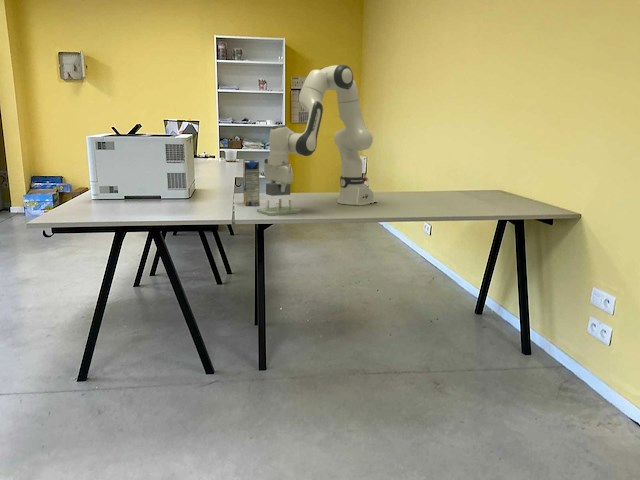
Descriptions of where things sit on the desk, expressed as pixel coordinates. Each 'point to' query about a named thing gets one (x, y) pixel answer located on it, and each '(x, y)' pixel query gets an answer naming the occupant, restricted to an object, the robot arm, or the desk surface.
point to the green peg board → (278, 209)
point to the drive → (277, 189)
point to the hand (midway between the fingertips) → (278, 190)
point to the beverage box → (251, 182)
